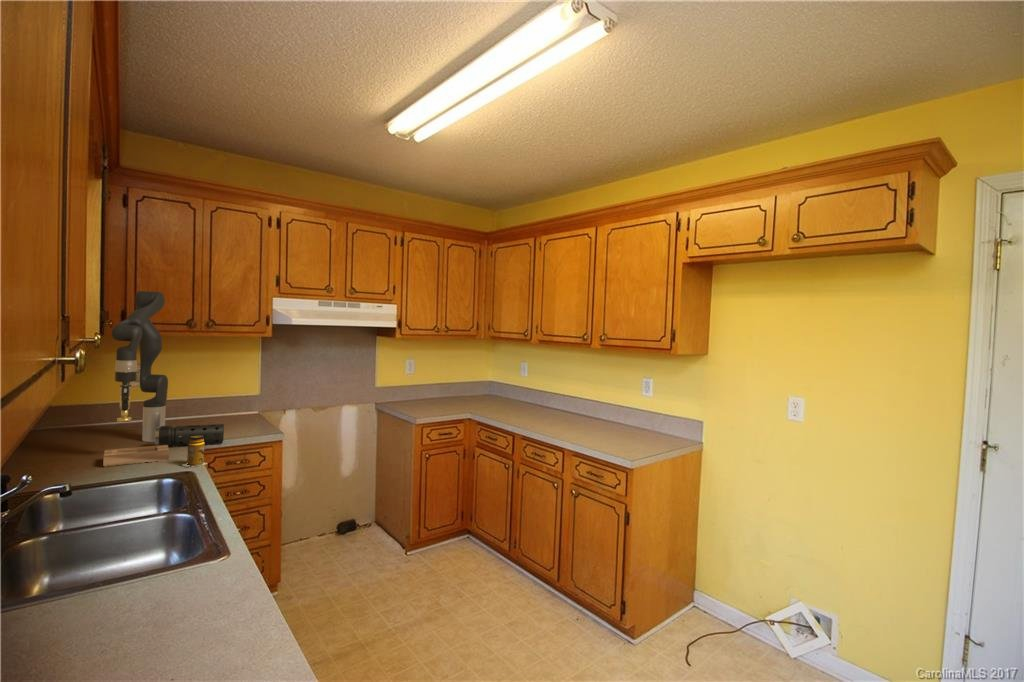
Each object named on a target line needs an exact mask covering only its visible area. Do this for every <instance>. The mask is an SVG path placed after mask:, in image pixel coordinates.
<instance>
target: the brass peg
mask: <svg viewBox="0 0 1024 682" xmlns="http://www.w3.org/2000/svg"><path fill="white" fill-rule="evenodd" d="M131 390H132V389H131ZM131 390H130V393H131V392H132V391H131ZM123 398H127V396H123ZM121 399H122V397H121V396H120V395H119V410H120V417H117V418H116V422H117V423H128V422H132V416H129V409H131V395H130V396H129V402H128V410H122V401H121Z"/></svg>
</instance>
